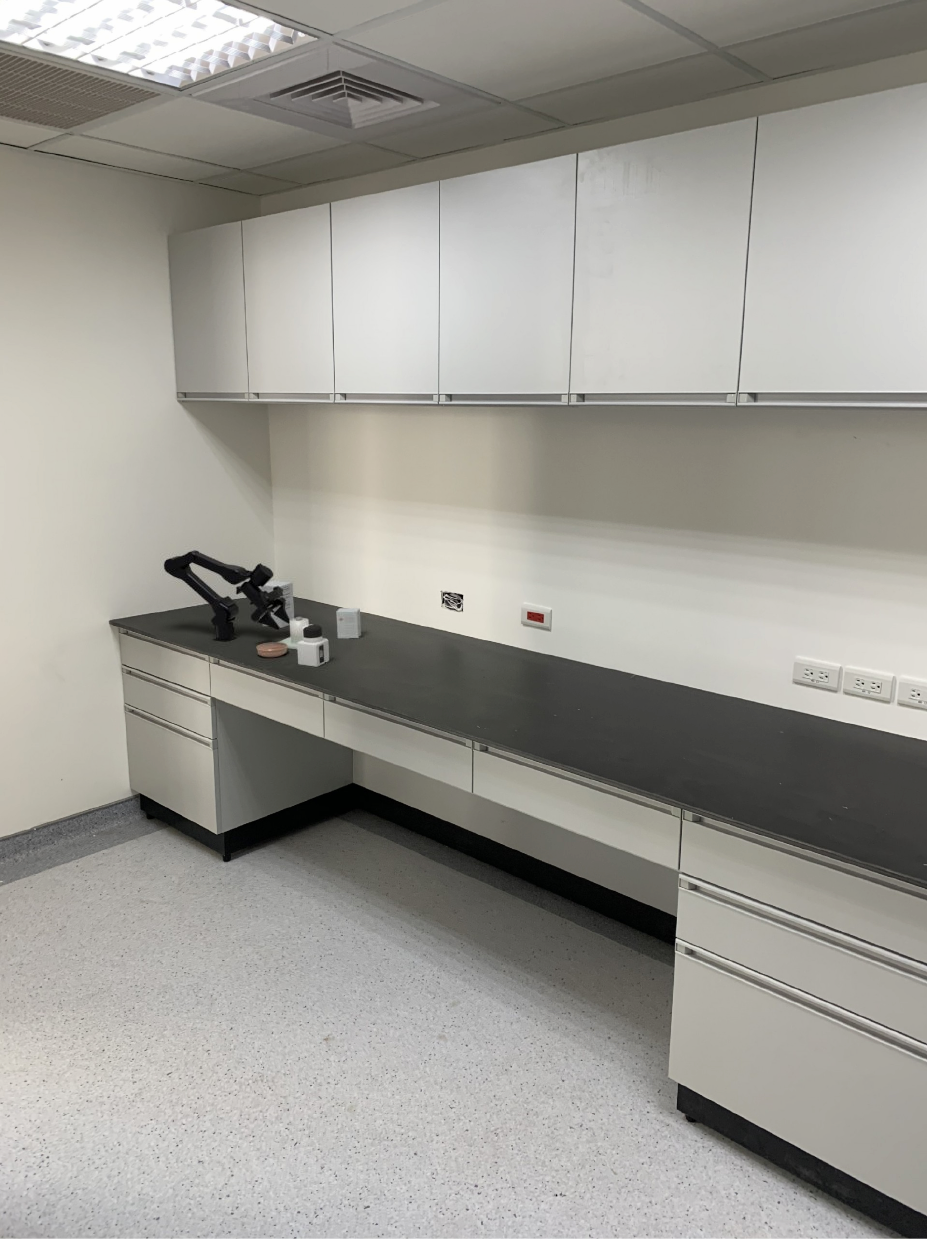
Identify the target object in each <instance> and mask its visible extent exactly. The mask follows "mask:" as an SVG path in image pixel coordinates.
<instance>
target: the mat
mask: <svg viewBox="0 0 927 1239" xmlns="http://www.w3.org/2000/svg"><path fill="white" fill-rule="evenodd" d="M322 639H327V638H324V637H322ZM278 642H280V643H285V644H287V649H291V650H292V649H293V650H297V644H295V643H291V638H290V636H289V637H287V638H285V639H282V640H279V641H278Z"/></svg>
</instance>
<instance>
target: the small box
mask: <svg viewBox="0 0 927 1239" xmlns="http://www.w3.org/2000/svg"><path fill="white" fill-rule="evenodd" d="M335 613H336V629H337V632H336V633H337V639H349V638H358V639H359V638H360V637H361V635H362V626H361V625H362V623H361V622H362V621H361V609H360V607H359V608H355V607H354V608H352V607H351V608H350V607H345V608H344V607H340V608H338V610H336V612H335ZM359 636H360V637H359Z"/></svg>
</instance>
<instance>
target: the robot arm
mask: <svg viewBox="0 0 927 1239" xmlns="http://www.w3.org/2000/svg"><path fill="white" fill-rule="evenodd" d="M191 564H194V565H197V566H198V567H201V568H204V569H205V570H208V571H210V572H213V573H215V574H217V575H219V576H220V577H221V578H222V579H223V580H224V581H226V582H228V583H229V584H230V585H233V586H235V585H239V586H236V587H235V588H236V590H235V594H236V595H239V594H241V593H242V594H243V595H244V597H246V598H247V599H248V600H249V601H250V602H249V604H250V606H252V605H253V606H254V607H255V608H256V609H255V610H254V611H253V612H252V614H250V619H251V620H252V621H253V623H257V624H262V625H263V624H264V625H267V626H266V627H269V628H272V629H274V630H278V631H279V630H280V629H281V628H280V627H279V626H278V624H277V623H276V622H275V620H274V619H273V618H272V616H271V612H272V613H273V615H275V616H277V617H278V618H280V619H281V620H283V621H285V622H286V623H288V624H289V623H290V619H289V617H288V615H287V613H286V610H285V605H286V600H285V599H284V598H283V597H280V596H283V589H281V587H279V586H276V587H274V588H273V591H271V592H269V593H268V592H267V591H262V590H261V587H263V586H264V585H265V584H266V583H267V582H270V580H271V579H272V578H273V577H274V572H273V571H272V569H271V568H270V567H268V566H266V565H263V564H262V563H258V564H257V565H256V566H255V568H254V569H252V570H249V569H246V568H245V567H243V566H240V565H236V564H228V563H224V562H222V561H220V560H217V559H215V558H213V557H211V556H208V555H207V554H204V553H202V552H200V551H198V550H195V549H194V550H191V551H188V552H186V553H185V554H183V555H178V556H177V555H176V556H173V557H170V558H168V559H166V560H164V563H163V569H164V571H165V572H166V573H167V574H168V575H171V576H172V577H173V578H176V579H179V580H181V581H182V582H184V583H186V585H187V586H188V587H190V588H191V589H192V590H193V591H194V592H195V593H197V594H198V596H200V597H201V598H202V599H203V600H204V601H205V602H206V603H207V604H209V605H210V607H211V609H212V611H213V613H214V616H213V617H212V618H211V619H210V622H211V624H212V626H214V632H215V635H214V636H215V637H213V638H212V640H214V641H219V642H220V641H222V642H228V641H231V640H233V639H234V640H235V639H237V638H238V636H237V635H236V632H235V626H234V621H235V620H236V617H237V616H238V615H239V612H240V609H239V606H238V605H237V602H236V601H234V600H233V599H232V598H231V597H230V596H229V595H227V596H224V597H223V596H221V595H219V594H218V593H217V592H216V591H215V590H214V589H212V587H210V586H209V585H208V583H206V582H205V581H203V579H201V578H200V576H198V575H197V574H196V573H195V572H194V571H192V568H191ZM241 583H242V584H241ZM240 584H241V585H240Z"/></svg>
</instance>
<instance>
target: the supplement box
mask: <svg viewBox="0 0 927 1239" xmlns="http://www.w3.org/2000/svg"><path fill="white" fill-rule="evenodd" d="M293 584H294V583H293V582H292V581H290V582H289V581H282V580H280V581H278V580H271V581H268V582H267V583H266V584H265V585H264V586H263V587H261V586H260V589H261V590H262V591H267V592H268V593H269V592H271V591H273V588H274V587H276V586H279V587H281V589H283V596H280V597H283V598H284V599H285V600H286V605H285V610H286V613H287V615H288V617H289V619H290V620H291V619H294V618H295V610H294V609H295V607H294V588H293V587H294V585H293ZM271 616H272V618H273V619H274V620H275V622H276V623H277V624H278V626H279V627H280V629H283V628H285V627H287V626H290V623H289V624H288V623H286V622H285V621H283V620H281V619H280V618H278V617H277V616H275V615H273V613H272V612H271ZM262 626H263V627H268V626H267V625H264V624H262Z"/></svg>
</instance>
